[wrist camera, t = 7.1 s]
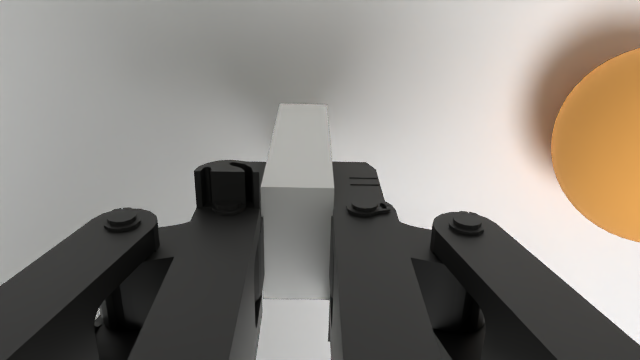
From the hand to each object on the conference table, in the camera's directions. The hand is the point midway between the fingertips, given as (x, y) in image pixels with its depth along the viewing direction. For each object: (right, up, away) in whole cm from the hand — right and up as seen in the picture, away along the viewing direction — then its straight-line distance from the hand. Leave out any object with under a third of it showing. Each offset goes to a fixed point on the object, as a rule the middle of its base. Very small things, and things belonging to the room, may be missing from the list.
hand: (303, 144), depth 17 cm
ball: (+11, 0, -1) cm, 11 cm away
